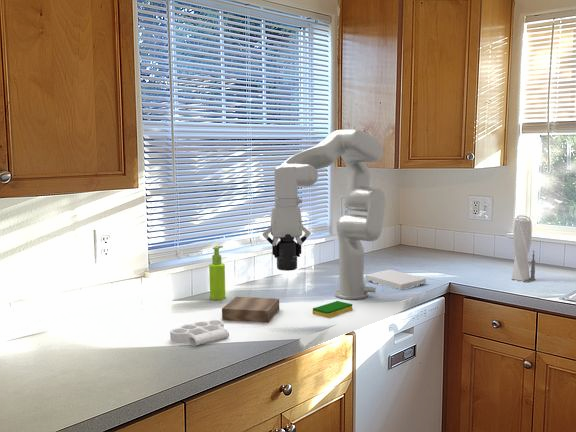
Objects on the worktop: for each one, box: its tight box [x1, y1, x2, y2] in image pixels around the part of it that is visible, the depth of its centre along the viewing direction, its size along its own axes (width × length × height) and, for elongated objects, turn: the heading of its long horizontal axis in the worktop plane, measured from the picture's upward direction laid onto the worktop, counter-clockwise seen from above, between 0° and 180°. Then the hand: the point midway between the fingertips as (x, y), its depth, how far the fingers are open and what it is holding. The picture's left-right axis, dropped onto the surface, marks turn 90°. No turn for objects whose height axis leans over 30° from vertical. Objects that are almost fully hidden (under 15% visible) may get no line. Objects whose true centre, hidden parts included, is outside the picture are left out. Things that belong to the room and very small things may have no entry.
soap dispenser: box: [208, 245, 226, 301], centre depth 230 cm, size 6×7×20 cm
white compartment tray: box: [169, 319, 230, 347], centre depth 185 cm, size 3×18×15 cm
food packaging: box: [365, 269, 427, 291], centre depth 252 cm, size 15×3×20 cm
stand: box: [221, 296, 280, 324], centre depth 208 cm, size 16×16×4 cm
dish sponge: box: [312, 300, 353, 319], centre depth 211 cm, size 7×14×2 cm, turn 136°
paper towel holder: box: [511, 214, 537, 283], centre depth 254 cm, size 8×8×28 cm
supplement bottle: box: [276, 234, 298, 272], centre depth 199 cm, size 7×7×12 cm
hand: (286, 256), depth 200 cm, fingers closed on supplement bottle, 6 cm apart
